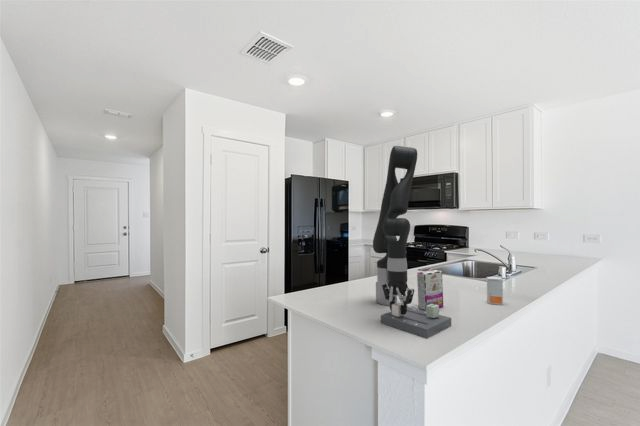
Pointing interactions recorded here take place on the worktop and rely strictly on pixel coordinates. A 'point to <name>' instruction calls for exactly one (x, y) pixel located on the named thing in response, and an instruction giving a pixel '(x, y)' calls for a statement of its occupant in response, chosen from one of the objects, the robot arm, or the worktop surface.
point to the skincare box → (495, 290)
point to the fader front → (396, 309)
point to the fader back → (432, 310)
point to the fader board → (417, 322)
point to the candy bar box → (430, 288)
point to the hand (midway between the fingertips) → (398, 312)
